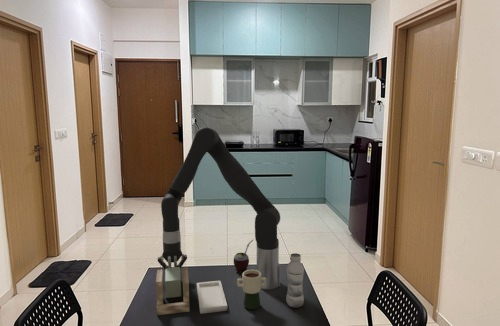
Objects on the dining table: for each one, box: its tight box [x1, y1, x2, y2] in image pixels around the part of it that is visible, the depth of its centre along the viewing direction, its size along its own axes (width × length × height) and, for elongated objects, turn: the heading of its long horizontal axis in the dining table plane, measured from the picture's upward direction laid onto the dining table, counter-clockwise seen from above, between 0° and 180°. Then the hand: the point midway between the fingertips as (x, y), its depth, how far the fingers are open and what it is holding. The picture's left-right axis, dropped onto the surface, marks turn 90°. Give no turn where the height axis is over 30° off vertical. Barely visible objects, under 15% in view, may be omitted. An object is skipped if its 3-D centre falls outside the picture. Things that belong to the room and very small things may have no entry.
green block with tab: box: [164, 266, 182, 299], centre depth 150 cm, size 6×17×7 cm, turn 12°
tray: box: [196, 280, 228, 314], centre depth 141 cm, size 10×20×2 cm, turn 12°
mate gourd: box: [233, 239, 254, 275], centre depth 164 cm, size 8×8×15 cm
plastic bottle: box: [285, 252, 305, 309], centre depth 134 cm, size 6×7×20 cm
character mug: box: [236, 269, 266, 310], centre depth 134 cm, size 11×7×13 cm, turn 93°
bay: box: [155, 266, 191, 316], centre depth 135 cm, size 12×12×12 cm
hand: (173, 277), depth 157 cm, fingers closed on green block with tab, 1 cm apart
